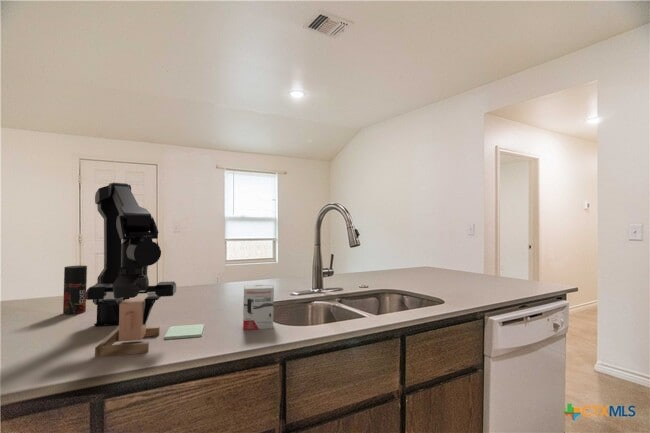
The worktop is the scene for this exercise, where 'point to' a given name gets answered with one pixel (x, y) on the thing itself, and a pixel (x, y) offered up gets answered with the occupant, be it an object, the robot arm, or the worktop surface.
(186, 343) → the worktop surface
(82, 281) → the deodorant
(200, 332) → the green mat
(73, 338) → the worktop surface
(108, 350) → the walnut cradle
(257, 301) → the ink box
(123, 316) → the block with side knob
